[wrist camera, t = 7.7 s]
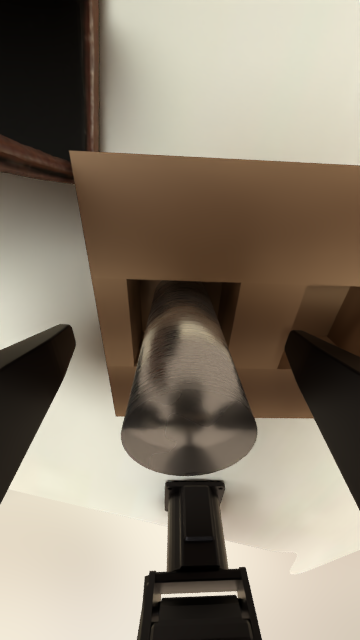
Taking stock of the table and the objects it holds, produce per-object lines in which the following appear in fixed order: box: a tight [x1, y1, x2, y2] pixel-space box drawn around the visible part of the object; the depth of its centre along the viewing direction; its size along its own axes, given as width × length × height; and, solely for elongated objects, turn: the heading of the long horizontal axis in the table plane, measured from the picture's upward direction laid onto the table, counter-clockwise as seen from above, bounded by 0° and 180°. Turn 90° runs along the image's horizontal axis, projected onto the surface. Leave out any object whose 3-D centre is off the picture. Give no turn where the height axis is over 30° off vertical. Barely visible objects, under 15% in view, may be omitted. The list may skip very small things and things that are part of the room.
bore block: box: [69, 151, 360, 418], centre depth 11 cm, size 12×14×4 cm
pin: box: [121, 280, 257, 476], centre depth 8 cm, size 3×3×8 cm
